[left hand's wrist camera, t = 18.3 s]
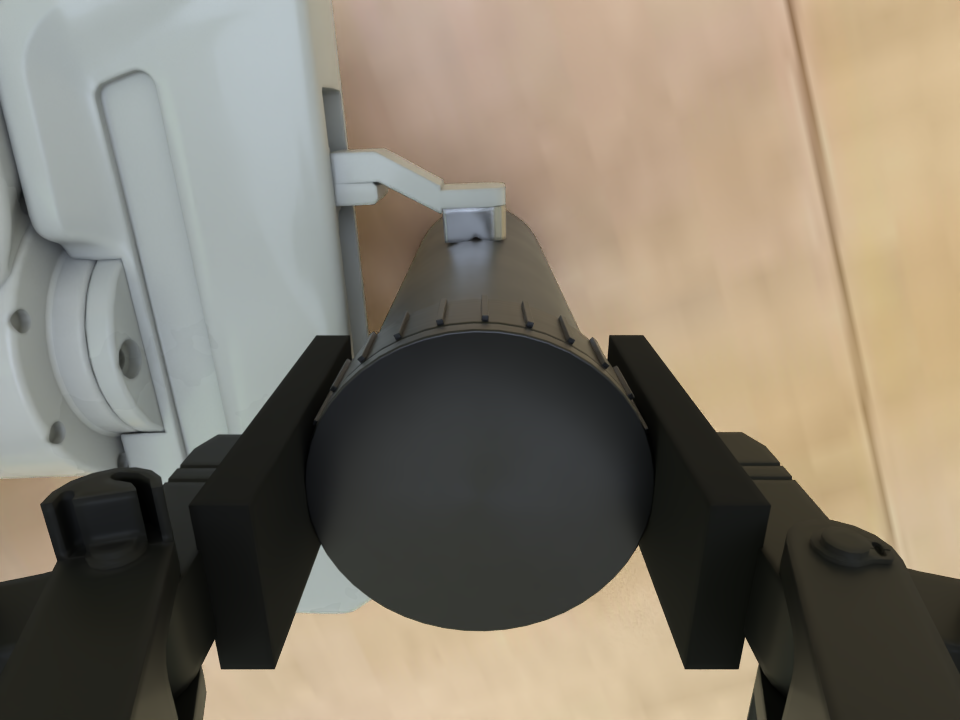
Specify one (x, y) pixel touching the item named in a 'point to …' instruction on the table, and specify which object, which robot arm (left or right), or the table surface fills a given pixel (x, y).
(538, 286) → the dark grey cylinder
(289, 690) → the table surface
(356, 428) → the lid
